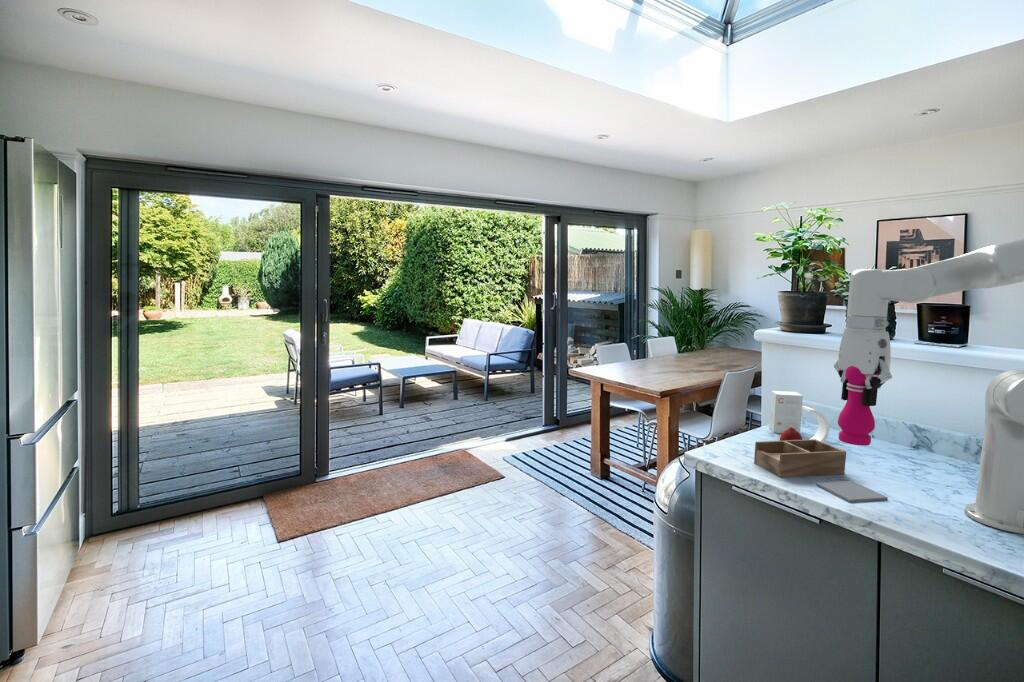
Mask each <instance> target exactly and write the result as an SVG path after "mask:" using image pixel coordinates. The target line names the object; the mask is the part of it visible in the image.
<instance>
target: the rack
mask: <svg viewBox="0 0 1024 682" xmlns="http://www.w3.org/2000/svg"><path fill="white" fill-rule="evenodd" d="M767 453H780V460H779V459H777V458H775V457H773V456H771V455H769V454H767ZM753 459H754V461H753V464H755V465H757V466H759V467H761V468H762V469H764V470H766V471H768V472H770V473H772V474H773V475H775V476H777V477H779V478H796V477H813V476H814V477H815V476H833V475H835V476H836V475H845V471H846V461H847V460H846V459H847V451H846V450H843V449H841V448H839V447H836V446H834V445H831V444H828V443H826V442H825V441H824V442H821V441H819V440H816V439H811V438H809V439H802V440H784V441H780V440H766V441H765V440H763V441H762V440H761V441H760V440H759V441H755V445H754V458H753Z"/></svg>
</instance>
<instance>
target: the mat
mask: <svg viewBox="0 0 1024 682" xmlns="http://www.w3.org/2000/svg"><path fill="white" fill-rule="evenodd" d="M815 486H816V487H818V488H820V489H822V490H825V491H826V492H828V493H830V494H832V495H833V496H836V497H838V498H839V499H841V500H844V501H846V502H848V503H858V502H859V503H860V502H872V501H873V502H874V501H888V498H889V497H888V496H885V495H884V494H882V493H880V492H877V491H875V490H873V489H870V488H869V487H866V486H864V485H862V484H860V483H858V482H855V481H853V480H845V481H844V480H840V481H825V482H815Z"/></svg>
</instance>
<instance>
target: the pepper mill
mask: <svg viewBox="0 0 1024 682" xmlns="http://www.w3.org/2000/svg"><path fill="white" fill-rule="evenodd" d="M874 374H875V372H874ZM865 376H866V375H864V374H862V373H861V371H860V370H859V369H858V368H857V367H854V366H849V367H848V368H847V369H846V372H845V377H846V378H847V380H848V381H849V383H847V387H846V388H847V389H848V399H847V400H846V402H845V405H844V406H843V408H842V410H841V411H840V413H839V415H838V417H837V418H838V419H837V425H838V426H839V428H840V429H841V430H840V431H839V433H838V440H839V441H841V443H842V442H843V443H844V444H849V445H854V446H860V447H861V446H869V445H871V443H872V436H871V435H870V433H871V432H873V431H874V430H875V428H876V421H875V417H874V414H873V412H872V410H871V406H863V405H862V396H863V388H866V384H865V378H866V377H865ZM874 379H875V377H871V380H872V381H873V380H874Z"/></svg>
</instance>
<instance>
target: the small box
mask: <svg viewBox="0 0 1024 682" xmlns="http://www.w3.org/2000/svg"><path fill="white" fill-rule="evenodd" d="M770 391H771V393H770V407H769V421H768V422H769V423H768V424H769V425H768V428H769V430H770V431H771V432H772V433H774V434H782V432H784V431H785V430H787V429H789V427H790V425H791V426H793V428H794V429H795V430H796V431H798V432H799V434H800V435H801V428H802V427H801V426H802V424H801V423H802V413H803V412H802V411H803V409H802V406H803V397H804V395H803V394H801V393H799V392H797V391H786V390H785V391H784V390H783V391H780V390H770Z"/></svg>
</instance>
